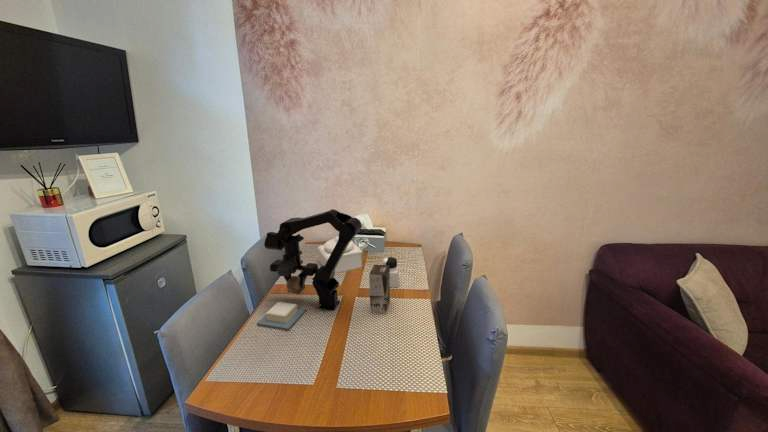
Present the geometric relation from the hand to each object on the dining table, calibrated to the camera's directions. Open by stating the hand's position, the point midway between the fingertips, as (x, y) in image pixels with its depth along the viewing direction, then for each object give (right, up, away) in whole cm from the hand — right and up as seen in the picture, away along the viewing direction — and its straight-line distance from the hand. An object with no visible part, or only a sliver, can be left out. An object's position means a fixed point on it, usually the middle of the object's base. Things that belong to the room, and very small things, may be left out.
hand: (296, 286), depth 132 cm
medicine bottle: (+38, -2, +14) cm, 41 cm away
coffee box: (+34, -7, -3) cm, 35 cm away
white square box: (+13, +4, +35) cm, 37 cm away
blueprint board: (-3, -10, -9) cm, 14 cm away
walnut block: (0, -1, 0) cm, 2 cm away
